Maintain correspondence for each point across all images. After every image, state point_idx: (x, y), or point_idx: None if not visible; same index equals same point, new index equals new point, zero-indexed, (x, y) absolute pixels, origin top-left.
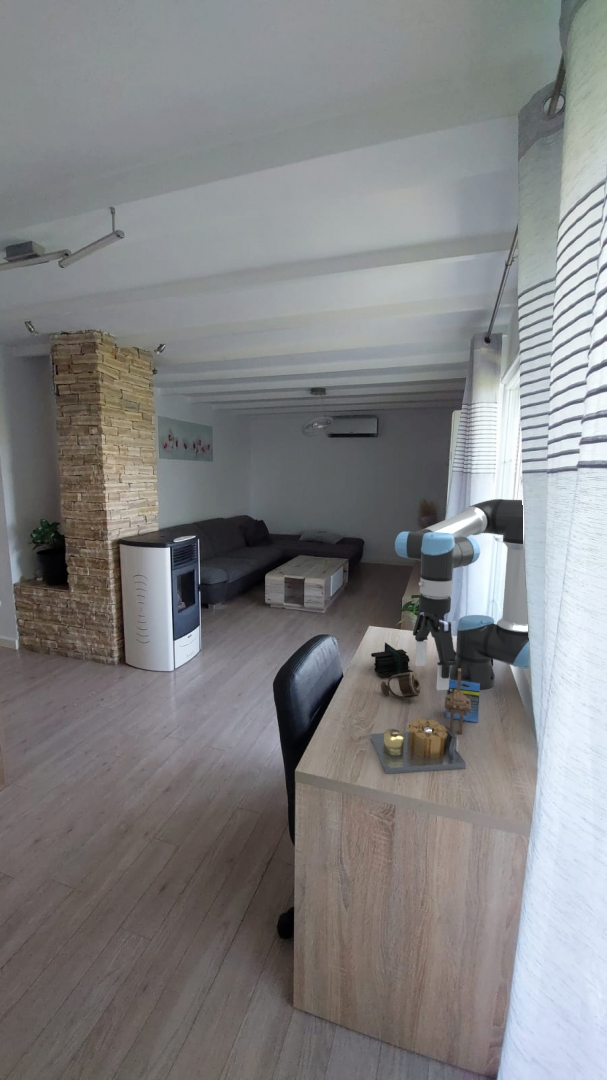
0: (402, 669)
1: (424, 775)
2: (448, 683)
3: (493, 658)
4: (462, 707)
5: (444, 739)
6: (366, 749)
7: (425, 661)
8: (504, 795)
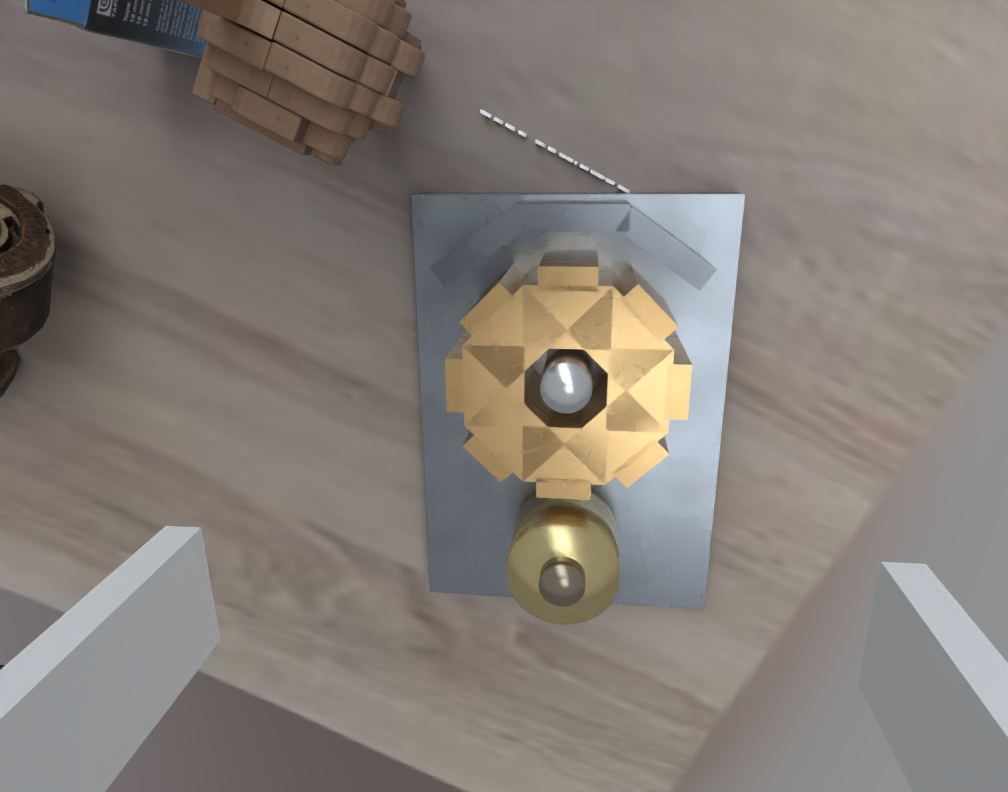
0: None
1: (745, 431)
2: (970, 627)
3: None
4: (414, 49)
5: (672, 318)
6: (514, 616)
7: (171, 561)
8: (997, 76)
